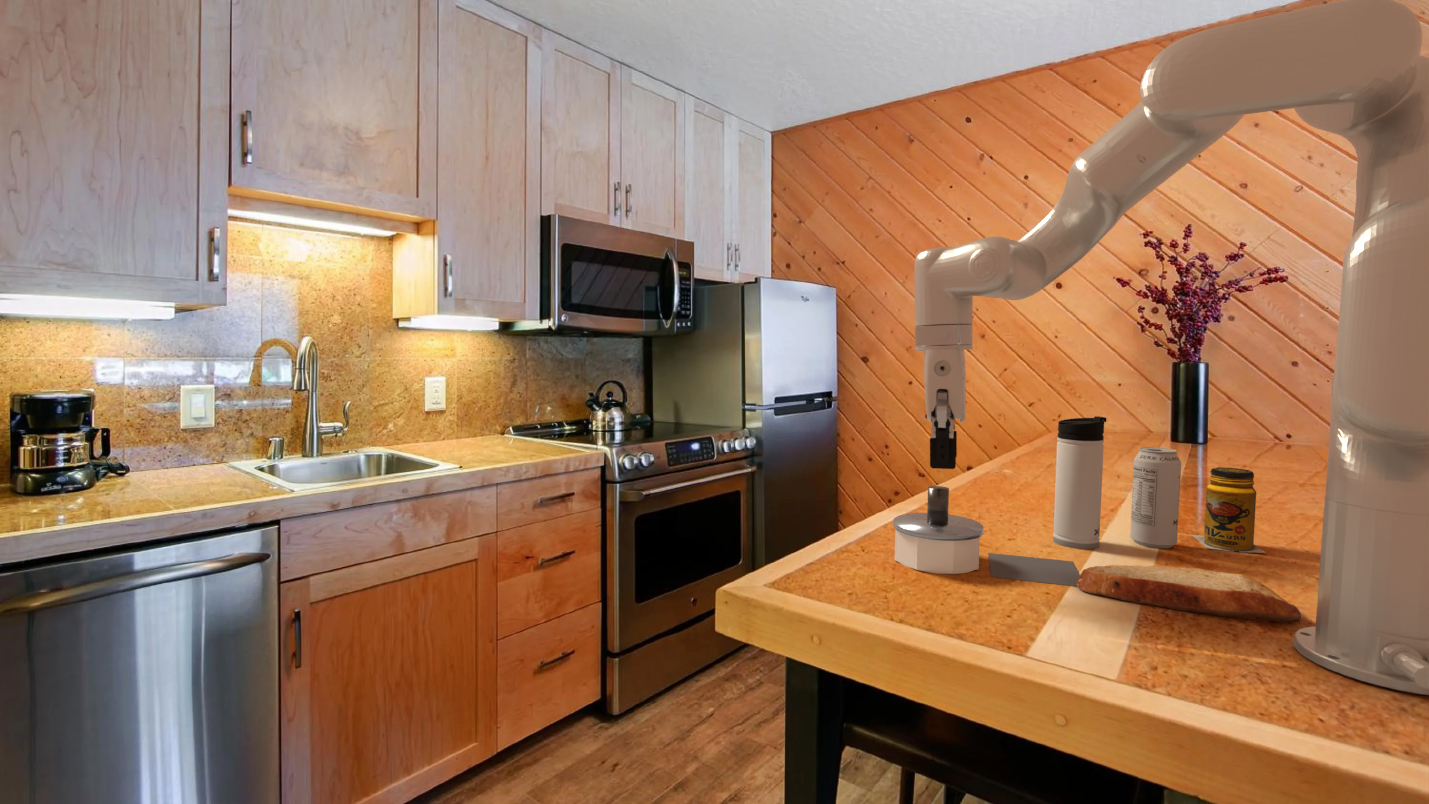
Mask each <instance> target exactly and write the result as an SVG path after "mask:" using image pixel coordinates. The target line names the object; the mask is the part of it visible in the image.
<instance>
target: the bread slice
mask: <svg viewBox="0 0 1429 804" xmlns="http://www.w3.org/2000/svg"><path fill="white" fill-rule="evenodd" d="M1079 575H1080V577H1079V579H1078V581H1077V582H1076V585H1077V586H1078V587H1077V588H1078V589H1079V590H1080V591H1082V592H1085V593H1089V594H1090V595H1091V594H1093V595H1098V596H1103V597H1107V598H1111V599H1116V600H1119V601H1123V602H1124V601H1125V602H1132V603H1135V604H1141V605H1142V604H1143V605H1150V606H1155V607H1159V608H1160V607H1161V608H1166V609H1167V608H1168V609H1172V610H1177V611H1184V612H1191V613H1197V614H1203V615H1204V614H1205V615H1207V614H1208V615H1213V616H1218V617H1231V618H1237V619H1241V620H1242V619H1243V620H1257V621H1266V622H1271V623H1272V622H1273V623H1274V622H1284V623H1285V622H1291V621H1299V620H1301V619H1302V613H1301V611H1300V609H1298V607H1297V606H1295V605H1294V604H1292V603H1289V602H1288V601H1287V600H1286V599H1284V598H1283V597H1282V596H1280V595H1279V594H1278V593H1276V592H1275V591H1274V590H1272V589H1271V588H1269V587H1268V586H1266V585H1265V584H1263V583H1261V582H1259V581H1258V580H1256V579H1254V578H1252V577H1250V576H1248V575H1246V574H1241V573H1232V572H1230V573H1229V572H1223V571H1214V570H1209V569H1204V568H1192V567H1191V568H1190V567H1175V566H1168V565H1165V566H1164V565H1148V566H1147V565H1146V566H1145V565H1125V564H1123V565H1119V564H1118V565H1116V564H1112V565H1110V564H1109V565H1104V566H1103V565H1097V566H1090V567H1087V568H1085V569H1083V570H1082V571H1081V573H1080V574H1079Z"/></svg>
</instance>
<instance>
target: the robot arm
mask: <svg viewBox="0 0 1429 804" xmlns="http://www.w3.org/2000/svg"><path fill="white" fill-rule="evenodd" d="M1422 44H1423V31H1422V26H1421V22H1420V20H1419V18H1418V17H1417V15H1416V13H1415V12H1414V11H1413V10H1411V9H1410V8H1409V7H1408V6H1406V5H1405V4H1403V3H1400V2H1398V1H1397V0H1338V1H1334V2H1333V1H1332V2H1329V3H1328V2H1327V3H1324V4H1319V5H1314V6H1308V7H1305V8H1300V9H1295V10H1290V11H1286V12H1281V13H1276V14H1272V15H1271V14H1270V15H1267V16H1261V17H1256V18H1251V19H1248V20H1247V19H1246V20H1242V21H1238V22H1233V23H1228V24H1223V25H1220V26H1215V27H1212V28H1211V27H1210V28H1207V29H1204V30H1202V31H1198V32H1195V33H1192V34H1190V35H1187V36H1184V37H1182V38H1180V39H1178V40H1176V41H1175V42H1172V43H1171V44H1169V45H1168V46H1167V47H1165V48H1163V50H1161V51H1160V52H1159V53H1157V55H1156V56H1155V57H1154V58H1153V59H1152V61H1151V62H1150V63H1149V65H1147V68H1146V69H1145V71H1144V73H1143V75H1142V78H1141V81H1140V87H1139V95H1140V96H1139V97H1140V101H1139V102H1138V103H1137V104H1136V105H1135V106H1134V108H1133V109H1131V110H1129V112H1128V113H1127V114H1126V115H1124V116H1123V117H1122V118H1121V119H1120V120H1118V121H1117V122H1116V123H1115V124H1114V125H1113V126H1112V127H1111V128H1109V129H1108V130H1107V131H1106V132H1105V133H1104V134H1102V135H1101V136H1100V137H1099V138H1097V140H1095V141H1094V142H1093V143H1092V144H1090V145H1089V146H1088V147H1087V148H1086V149H1085V150H1084V151H1082V152H1081V153H1079V155H1078V156H1077V157H1076V158H1075V159H1074V161H1073V162H1072V164H1071V166H1070V168H1069V171H1068V174H1067V176H1066V181H1065V185H1064V189H1063V190H1062V193H1061V195H1060V197H1059V199H1058V201H1057V203H1056V204H1055V205H1054V207H1053V208H1052V209H1051V210H1050V211H1049V213H1048V214H1047V215H1046V216H1045V217H1044V218H1043V219H1042V220H1041V221H1040V222H1039V223H1037V224H1036V225H1035V226H1034V227H1033V228H1032V229H1031V230H1030V231H1028V232H1027V233H1026V234H1024V235H1023V236H1022V237H1021V238H1019V239H1018V240H1017V241H1016V240H1014V239H1010V238H1007V237H1004V236H988V237H983V238H979V239H976V240H973V241H970V242H967V243H963V244H960V245H957V246H956V245H955V246H943V247H942V246H941V247H940V246H939V247H933V248H928V249H924V250H922V251H920V252H919V253H918V254H917V256H915V260H914V267H913V268H914V351H915V352H922V351H923V352H924V353H923V373H924V374H923V375H924V376H923V377H924V379H923V380H924V383H923V384H924V399H925V400H924V402H925V410H926V411H925V413H926V421H928V422H929V423H931V437H930V438H929V467H930V468H931V469H935V470H937V469H940V470H942V469H944V470H954V469H956V466H957V464H956V463H957V459H956V458H957V454H958V452H957V451H958V450H957V447H958V445H957V443H958V442H957V439H958V438H957V433H958V432H957V430H956V428H955V427H956V425H955V424H956V423H955V422H956V421H955V420H956V419H958V420H959V423H960V424H962V423H964V422H965V421H966V412H967V411H966V410H967V406H966V405H967V403H966V394H967V392H966V388H967V387H966V382H967V381H966V377H967V376H966V359H965V358H966V357H965V350H973V347H974V346H973V344H974V341H973V340H974V339H973V334H974V333H973V331H974V330H973V308H974V307H973V297H985V298H993V299H1002V300H1006V301H1020V300H1024V299H1027V298H1030V297H1032V296H1034V295H1036V294H1037V293H1038V292H1040V291H1042V290H1044V288H1046V287H1047V286H1049V285H1050V284H1051V283H1052V282H1054V281H1055V280H1056V279H1058V278H1059V277H1060V276H1062V275H1063V274H1064V273H1066V272H1067V271H1068V270H1070V269H1071V268H1072V267H1073V266H1075V265H1076V264H1077V263H1078V262H1080V261H1081V260H1082V259H1083V258H1084V257H1085V256H1086V255H1087V254H1088V253H1089V252H1090V251H1091V250H1093V248H1095V246H1096V245H1097V244H1098V243H1099V242H1100V241H1101V240H1102V239H1103V238H1104V237H1105V236H1106V235H1107V234H1108V233H1109V232H1110V231H1111V230H1112V229H1113V228H1114V227H1115V226H1116V225H1117V223H1118V222H1119V220H1121V218H1122V217H1123V216H1124V215H1125V214H1126V213H1127V212H1128V211H1129V210H1130V209H1132V208H1133V207H1134V206H1136V205H1137V204H1138V203H1139V202H1140V201H1142V200H1143V199H1145V197H1147V196H1148V195H1149V194H1151V193H1152V192H1153V191H1155V189H1157V188H1158V187H1160V186H1161V185H1162V184H1163V183H1165V182H1166V181H1167V180H1168V179H1171V177H1172V176H1173V175H1175V174H1176V173H1178V172H1179V171H1180V170H1182V168H1184V167H1185V166H1186V165H1188V164H1189V163H1191V162H1193V160H1194V159H1195V158H1196V157H1198V156H1200V155H1201V154H1202V153H1203V152H1205V151H1206V150H1207V149H1208V148H1209V147H1211V146H1213V144H1215V143H1216V142H1217V141H1218V140H1219V139H1221V138H1222V137H1223V136H1225V135H1226V134H1227V133H1228V132H1229V131H1230V130H1231V129H1233V128H1234V127H1235V126H1237V124H1238V123H1239V122H1240V121H1241V120H1242V118H1243V117H1244V116H1245V115H1250V114H1260V113H1267V112H1275V111H1281V110H1282V111H1283V110H1292V109H1294V111H1295V113H1296V114H1297V116H1298V117H1299V118H1300V119H1301V120H1302V121H1303V122H1305V123H1306V124H1307V125H1309V126H1311V127H1313V128H1315V129H1317V130H1321V131H1325V132H1328V133H1332V134H1335V135H1338V136H1340V137H1343V138H1344V139H1346V140H1347V141H1348V142H1349V143H1350V144H1351V145H1352V146H1353V148H1354V150H1355V152H1356V157H1357V164H1356V165H1357V166H1356V167H1357V168H1356V178H1355V180H1356V181H1355V192H1356V193H1355V194H1356V195H1355V197H1356V198H1355V207H1354V215H1353V216H1354V217H1353V228H1352V235H1351V238H1350V241H1349V242H1348V243H1347V246H1346V249H1345V251H1344V253H1343V254H1344V255H1343V260H1342V272H1341V273H1342V274H1341V275H1342V277H1341V288H1340V289H1341V290H1340V300H1339V311H1338V312H1339V314H1338V327H1337V339H1336V350H1335V363H1334V373H1333V376H1332V380H1331V387H1330V388H1331V389H1330V421H1329V438H1328V440H1329V442H1328V453H1327V455H1328V456H1327V465H1326V467H1327V469H1326V478H1325V479H1326V481H1325V492H1324V493H1325V494H1324V505H1323V515H1322V530H1321V543H1320V544H1321V545H1320V559H1319V573H1318V586H1317V599H1316V600H1317V601H1316V615H1315V626H1307V627H1303V628H1300V629H1298V630H1296V631H1295V632H1294V634H1293V646H1294V648H1295V649H1296V650H1297V651H1298V653H1300V655H1302V656H1304V657H1305V658H1307V659H1308V660H1310V661H1311V662H1313V663H1315V664H1316V665H1319V666H1321V667H1323V668H1325V669H1327V670H1330V671H1332V672H1334V673H1338V674H1340V675H1343V676H1345V677H1349V678H1352V679H1354V680H1358V681H1360V682H1364V683H1368V684H1371V685H1375V686H1379V687H1383V688H1386V689H1387V688H1388V689H1389V690H1390V689H1391V690H1396V691H1401V692H1405V693H1409V694H1410V693H1411V694H1417V695H1424V696H1429V57H1427V56H1423V55H1420V54H1421V49H1422Z"/></svg>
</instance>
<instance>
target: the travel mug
mask: <svg viewBox="0 0 1429 804" xmlns="http://www.w3.org/2000/svg"><path fill="white" fill-rule="evenodd" d="M1106 422H1107V417H1105V416H1098V415H1097V416H1093V417H1076V418H1075V417H1074V418H1067V419H1061V420H1058V425H1057V426H1058V427H1057V431H1058V433H1057V439H1056V440H1057V442H1056V462H1055V463H1056V464H1055V485H1054V511H1053V512H1054V514H1053V535H1052V536H1053V537H1052V541H1053V543H1054V544H1056V545H1059V546H1061V547H1066V548H1069V549H1077V550H1095V549H1099V547H1100V535H1101V533H1100V531H1101V513H1102V512H1101V511H1102V509H1101V508H1102V493H1103V492H1102V487H1103V467H1104V465H1103V464H1104V449H1105V448H1104V443H1105V440H1104V438H1105V437H1104V433H1105V423H1106Z"/></svg>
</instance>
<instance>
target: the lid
mask: <svg viewBox="0 0 1429 804" xmlns="http://www.w3.org/2000/svg"><path fill="white" fill-rule="evenodd" d="M949 500H950V488H949V487H946V486H942V485H940V486H939V485H931V486H930V485H929V486H928V487H927V505H926V506H927V508H926V509H927V511H926V512H911V513H904V514H903V513H902V514H900V515H897V516H895V517H894V518H893V520H892V521H893V524H892V527H893V528H894V530H895V529H896V530H897V531H899V532H901V533H904V534H907V535H910V536H914V537H919V538H924V539H932V540H943V541H961V540H971V539H975V538H978V537H980V538H981V537H983V535H984V525H983V524H981V523H980V521H977V520H974V519H973V518H972V519H971V518H968V517H965V516H960V515H954V514H949V504H950V503H949V502H950V501H949Z"/></svg>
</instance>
